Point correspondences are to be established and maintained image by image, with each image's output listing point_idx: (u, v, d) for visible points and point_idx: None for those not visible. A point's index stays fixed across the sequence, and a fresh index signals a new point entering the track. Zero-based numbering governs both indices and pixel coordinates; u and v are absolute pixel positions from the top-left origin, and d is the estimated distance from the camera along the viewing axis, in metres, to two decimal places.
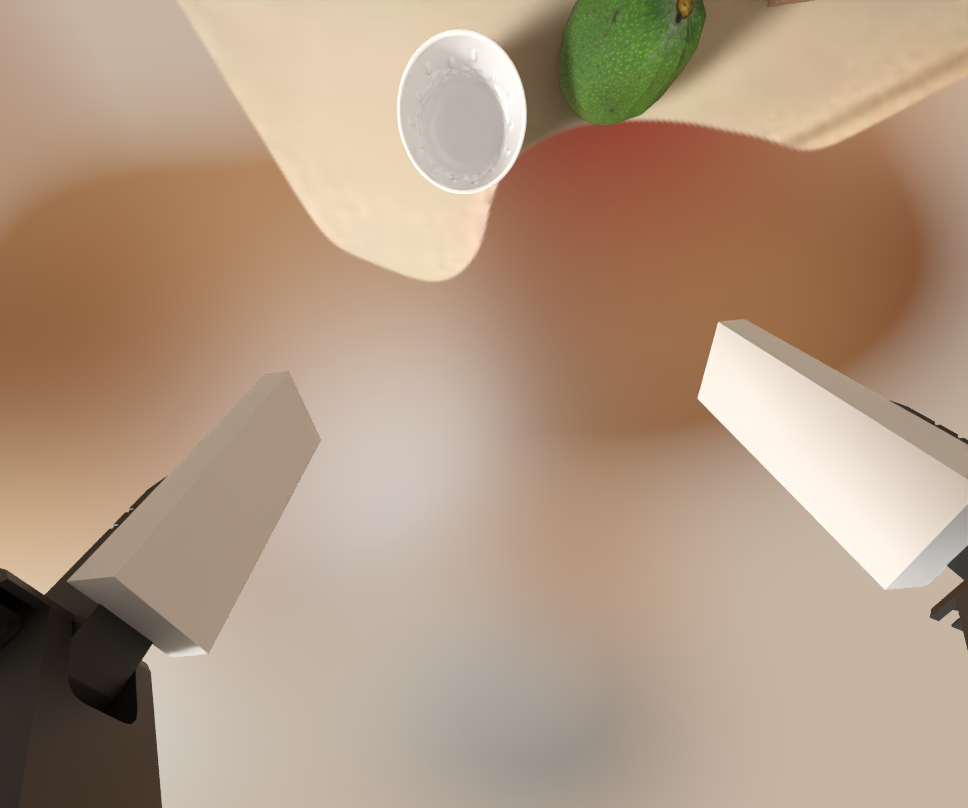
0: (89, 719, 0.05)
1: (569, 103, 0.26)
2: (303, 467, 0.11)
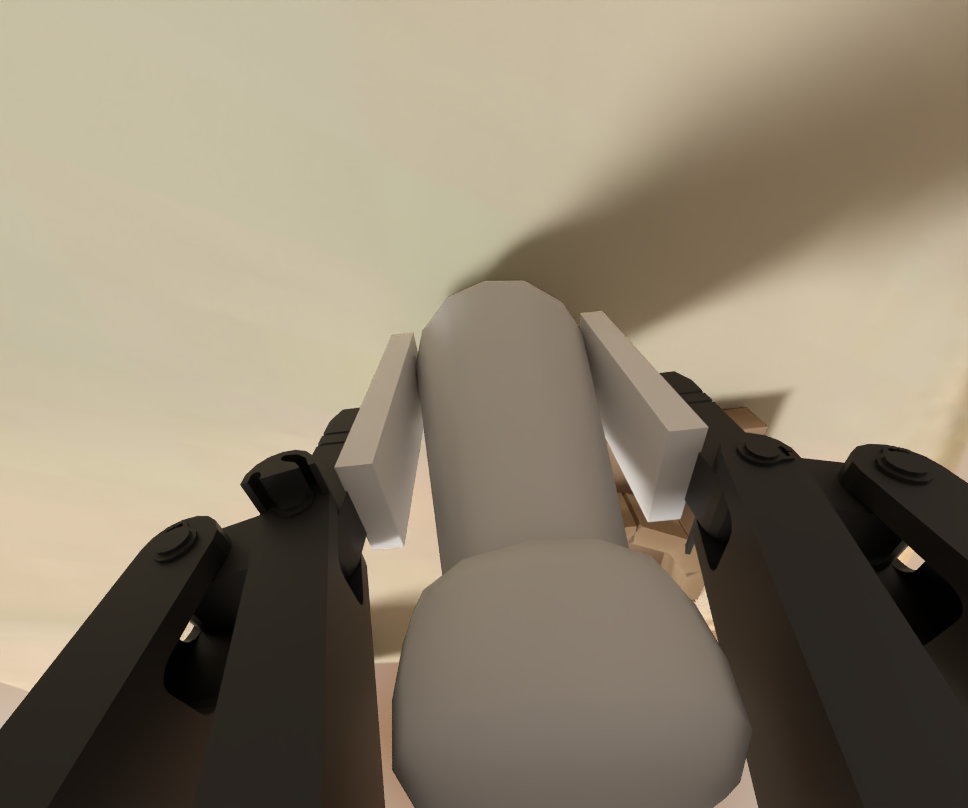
0: (346, 592, 0.06)
1: None
2: None
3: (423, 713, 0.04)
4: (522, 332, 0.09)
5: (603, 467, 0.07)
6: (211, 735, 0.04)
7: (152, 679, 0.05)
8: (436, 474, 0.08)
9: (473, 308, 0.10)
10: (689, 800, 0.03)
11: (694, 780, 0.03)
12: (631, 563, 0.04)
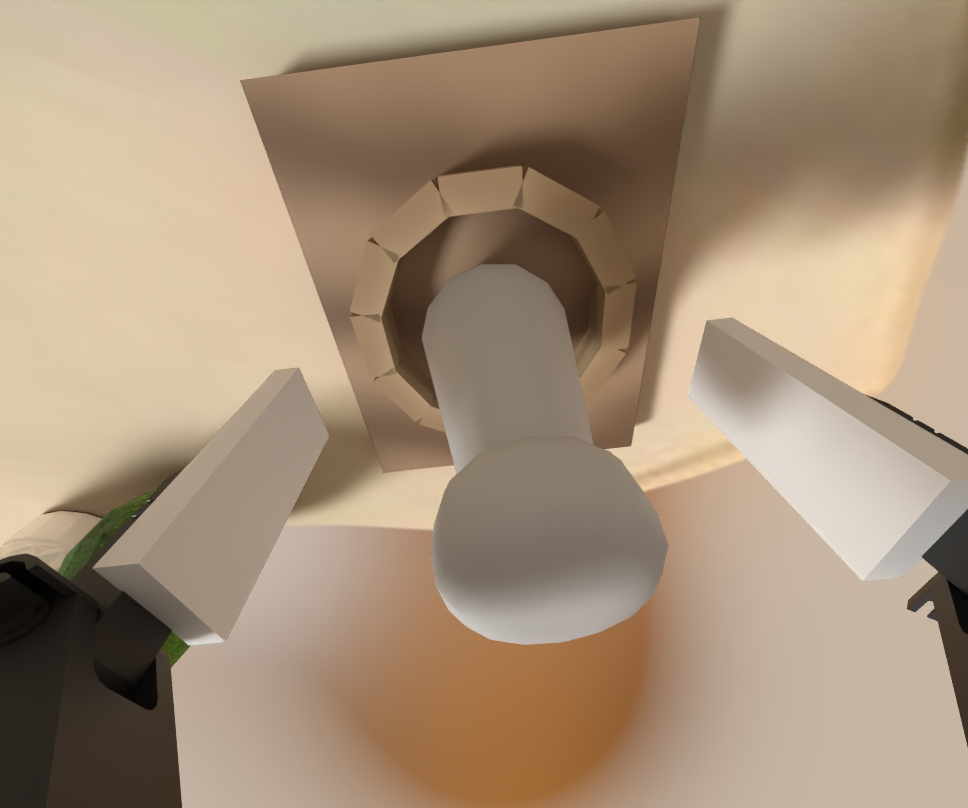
0: (113, 704, 0.05)
1: None
2: (313, 462, 0.11)
3: (459, 534, 0.06)
4: (514, 305, 0.11)
5: (579, 406, 0.09)
6: None
7: None
8: (448, 417, 0.10)
9: (473, 287, 0.12)
10: (624, 575, 0.06)
11: (626, 559, 0.05)
12: (593, 449, 0.06)
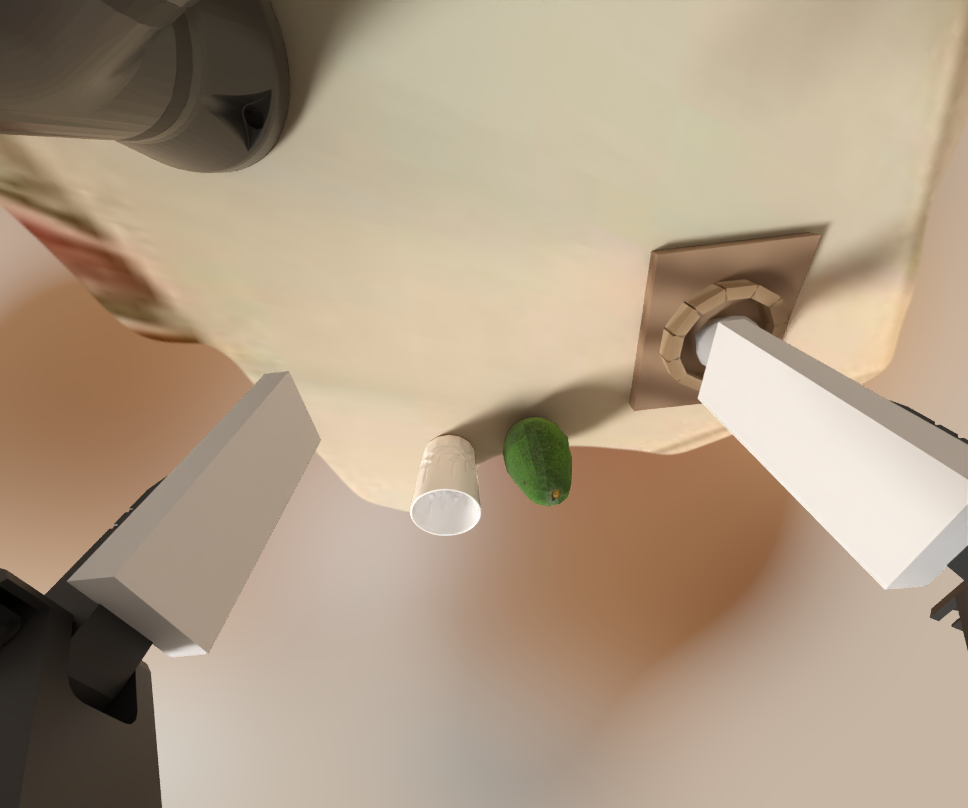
0: (89, 719, 0.05)
1: None
2: (303, 467, 0.11)
3: None
4: None
5: None
6: None
7: None
8: None
9: None
10: None
11: None
12: None
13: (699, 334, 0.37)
